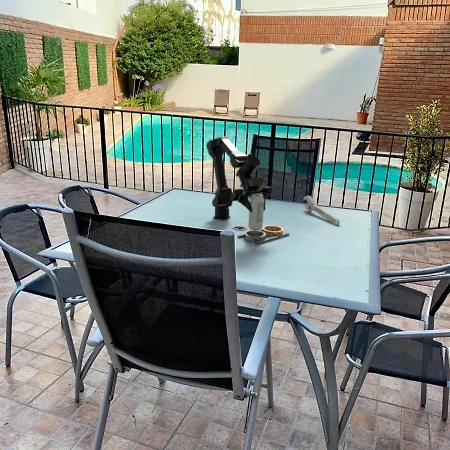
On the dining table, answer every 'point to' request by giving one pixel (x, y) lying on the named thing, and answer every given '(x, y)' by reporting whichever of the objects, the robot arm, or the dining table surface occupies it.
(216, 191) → the robot arm
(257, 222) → the energy drink can
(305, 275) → the dining table surface
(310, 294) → the dining table surface
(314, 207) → the wrench
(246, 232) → the socket rail
